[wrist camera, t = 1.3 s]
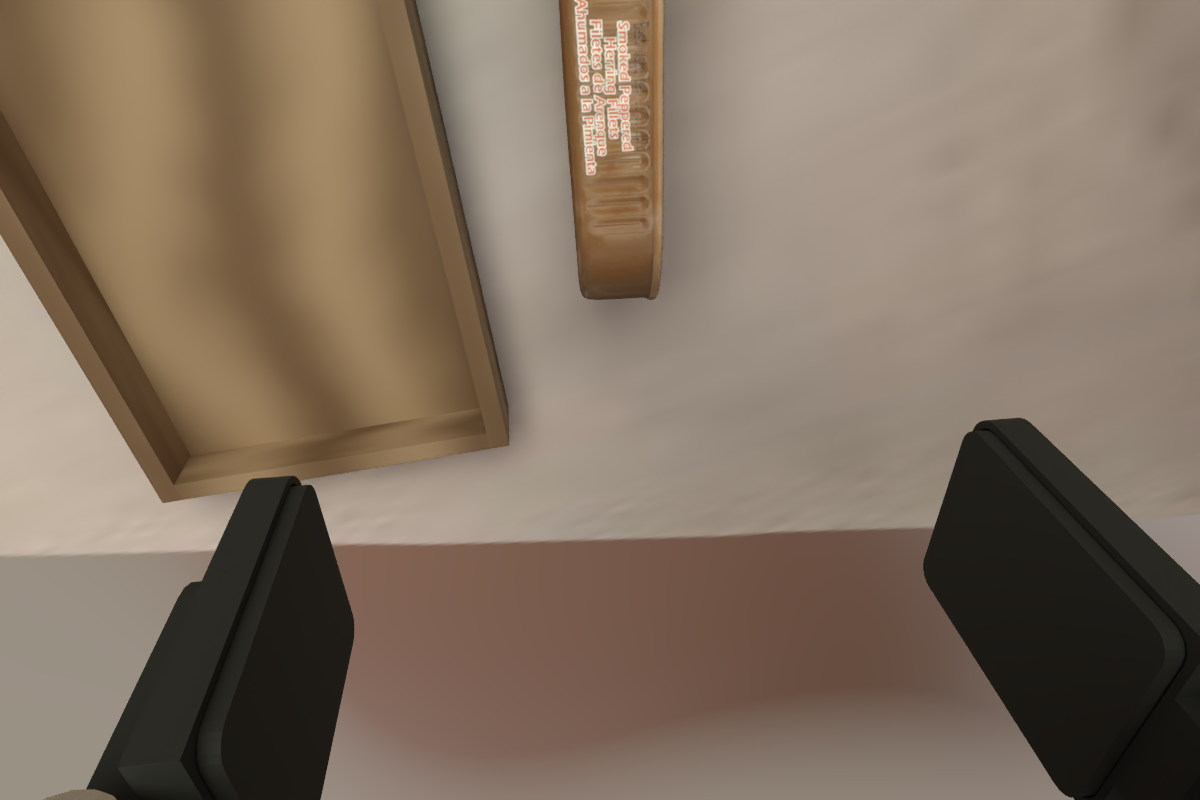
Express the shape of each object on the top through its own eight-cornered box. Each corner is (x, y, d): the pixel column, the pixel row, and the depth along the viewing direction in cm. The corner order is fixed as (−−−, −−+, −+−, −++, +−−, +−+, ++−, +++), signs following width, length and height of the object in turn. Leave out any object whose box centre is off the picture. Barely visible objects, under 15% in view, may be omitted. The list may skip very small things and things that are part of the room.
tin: (639, 245, 30) (682, 343, 23) (562, 251, 30) (583, 352, 23) (632, -235, 22) (696, -311, 15) (526, -231, 21) (540, -306, 14)
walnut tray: (380, -154, 22) (364, -164, 19) (508, 406, 33) (508, 445, 31) (-114, -86, 21) (-194, -87, 19) (187, 459, 33) (162, 503, 30)
